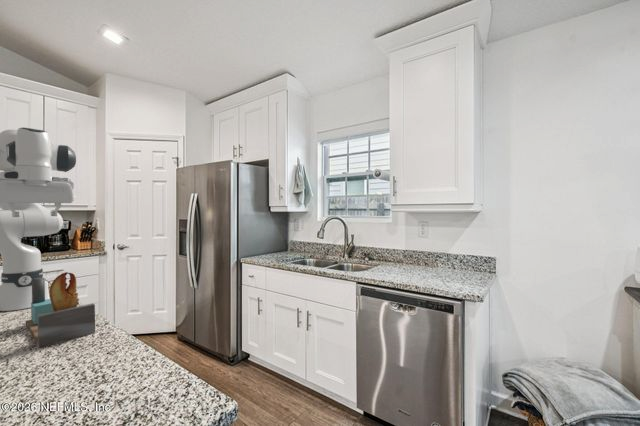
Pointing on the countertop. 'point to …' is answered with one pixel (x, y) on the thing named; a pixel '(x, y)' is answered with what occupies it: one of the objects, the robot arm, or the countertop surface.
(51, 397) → the countertop surface
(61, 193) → the robot arm
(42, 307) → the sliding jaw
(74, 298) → the crab claw
